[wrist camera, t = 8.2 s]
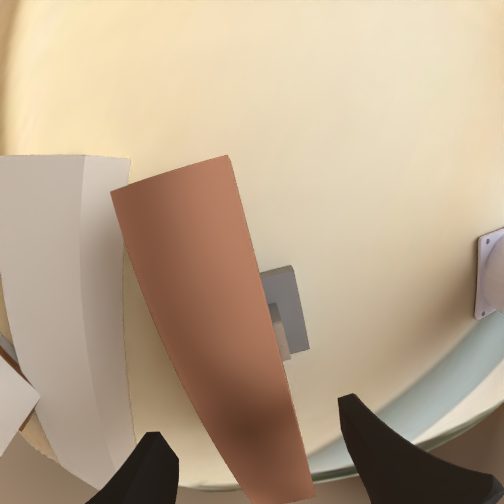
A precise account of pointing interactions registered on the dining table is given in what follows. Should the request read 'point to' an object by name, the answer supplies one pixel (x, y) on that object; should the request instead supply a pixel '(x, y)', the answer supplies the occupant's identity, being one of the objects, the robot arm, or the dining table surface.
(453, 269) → the dining table surface
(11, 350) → the white tower model
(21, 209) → the decorative molding
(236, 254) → the mahogany rod
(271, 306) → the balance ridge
